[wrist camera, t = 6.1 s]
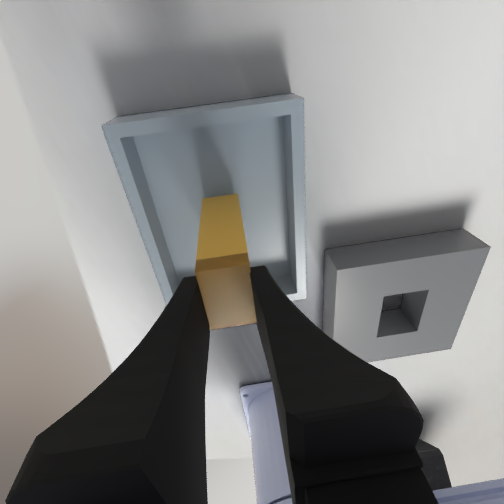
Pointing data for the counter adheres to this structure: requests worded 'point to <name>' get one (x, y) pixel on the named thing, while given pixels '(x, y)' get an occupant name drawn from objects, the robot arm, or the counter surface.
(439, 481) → the tool
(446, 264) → the socket block
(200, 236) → the block
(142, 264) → the counter surface
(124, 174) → the parts tray
